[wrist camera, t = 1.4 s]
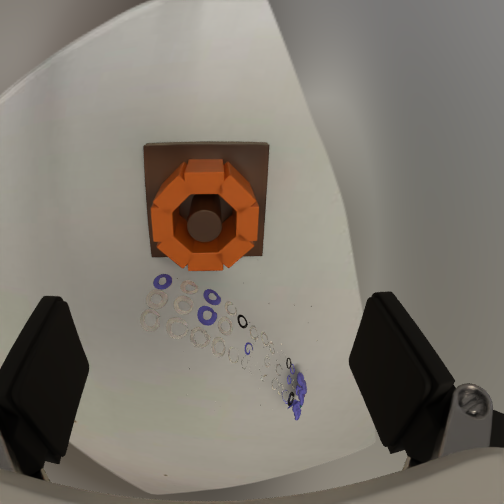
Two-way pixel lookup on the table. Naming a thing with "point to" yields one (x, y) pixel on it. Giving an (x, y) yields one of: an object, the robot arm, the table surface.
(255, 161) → the rack
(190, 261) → the orange octagonal tube
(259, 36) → the table surface
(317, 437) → the table surface
